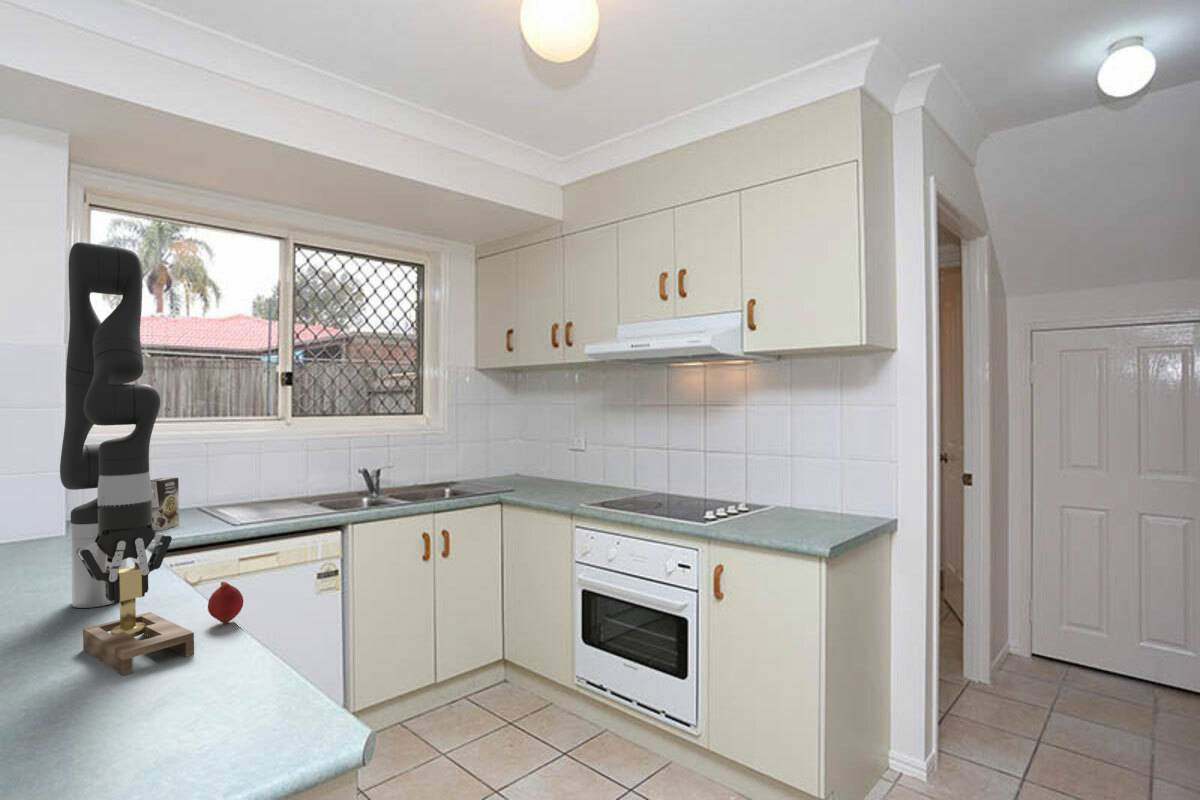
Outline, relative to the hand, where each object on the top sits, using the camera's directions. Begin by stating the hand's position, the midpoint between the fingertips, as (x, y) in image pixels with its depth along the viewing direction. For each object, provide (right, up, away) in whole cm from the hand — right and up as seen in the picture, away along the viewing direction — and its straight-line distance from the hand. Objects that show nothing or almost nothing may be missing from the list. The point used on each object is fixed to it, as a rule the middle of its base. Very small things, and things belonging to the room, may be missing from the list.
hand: (127, 598), depth 111 cm
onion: (+11, -8, +11) cm, 17 cm away
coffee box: (-63, -8, +101) cm, 119 cm away
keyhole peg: (0, -6, 0) cm, 6 cm away
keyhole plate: (+4, -8, -3) cm, 9 cm away
